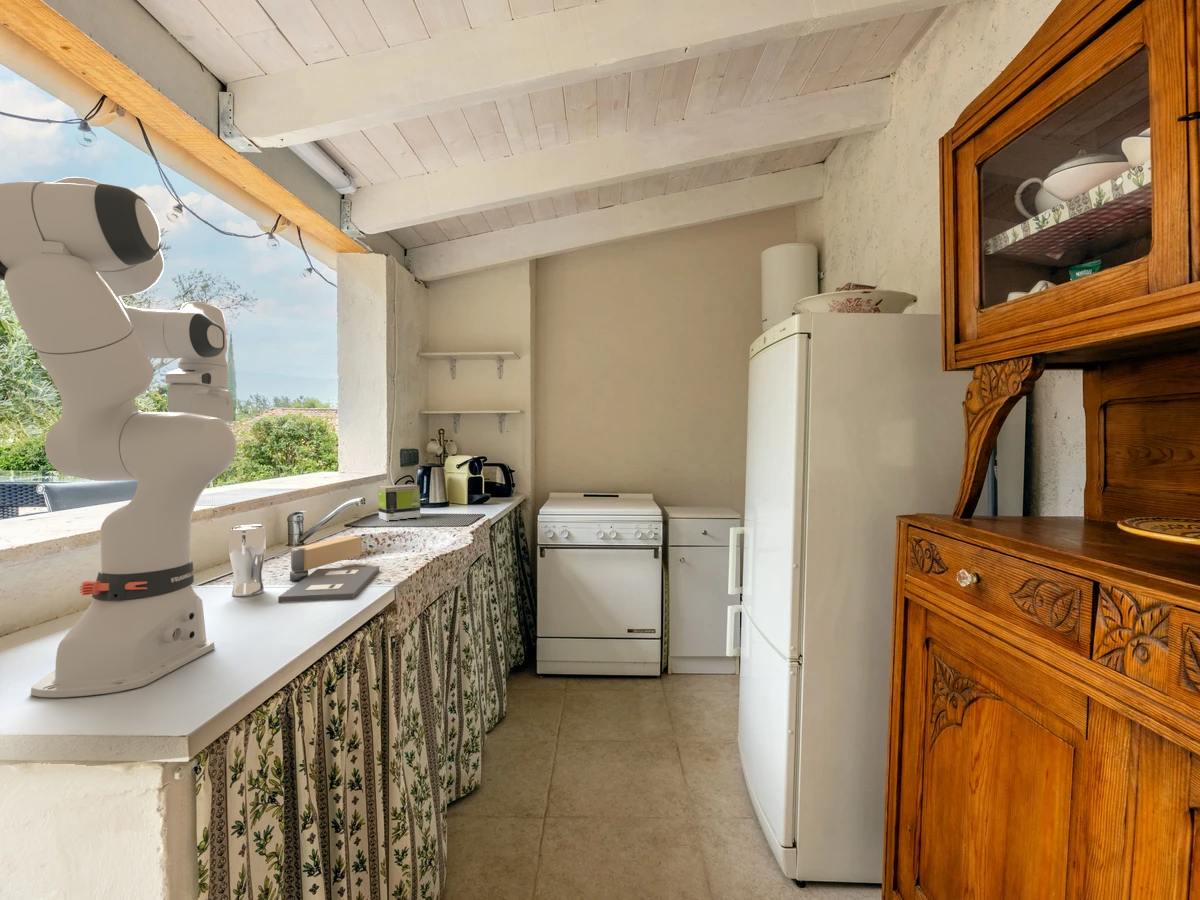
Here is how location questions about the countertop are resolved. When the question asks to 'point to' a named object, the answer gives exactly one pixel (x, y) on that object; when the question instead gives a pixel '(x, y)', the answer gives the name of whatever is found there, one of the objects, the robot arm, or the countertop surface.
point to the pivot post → (298, 575)
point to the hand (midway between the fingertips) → (204, 442)
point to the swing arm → (325, 552)
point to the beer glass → (247, 559)
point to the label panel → (330, 584)
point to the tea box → (399, 502)
